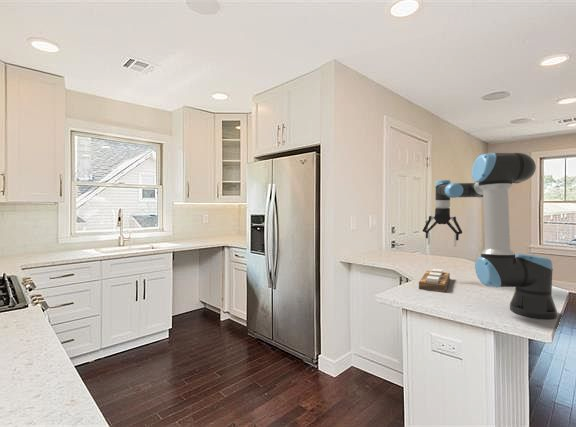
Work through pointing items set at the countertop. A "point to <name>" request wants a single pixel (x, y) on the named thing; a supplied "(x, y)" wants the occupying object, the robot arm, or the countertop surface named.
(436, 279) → the near button
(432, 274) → the middle button
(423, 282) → the button board
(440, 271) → the far button
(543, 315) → the robot arm
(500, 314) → the countertop surface
